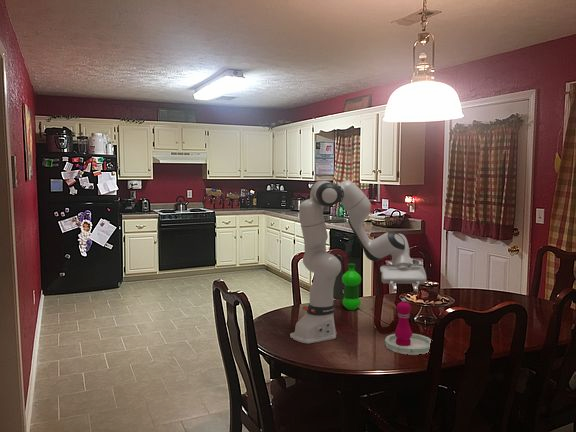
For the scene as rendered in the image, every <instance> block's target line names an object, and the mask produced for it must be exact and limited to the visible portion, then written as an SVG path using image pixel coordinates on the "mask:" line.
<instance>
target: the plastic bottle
mask: <svg viewBox="0 0 576 432" xmlns="http://www.w3.org/2000/svg"><path fill="white" fill-rule="evenodd" d="M347 268H348V270H347V271H346V272H344V273H343V274H342V276H341V283H342V284H344V285H343V286H344V287H343V288H344V289H343V298H342V305H343V307H345V309H347V310H348V311H349V310H350V311H355V310H356V309H357V308H359V307H360V305H361V299H360V297H359V296H360V295H359V294H360V293H359V292H360V291H359V290H360V288H359V287H360V284H361V283H362V277H361V275H360V274H359V272H357V271H356V270H355V269H356V264H355V263H348V264H347Z"/></svg>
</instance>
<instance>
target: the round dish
mask: <svg viewBox="0 0 576 432" xmlns="http://www.w3.org/2000/svg"><path fill="white" fill-rule="evenodd" d="M396 339H397V337H396V336H395V333H391V334H389V335H387V336H386V337H385V339H384V345H385V348H387V349H388V350H389V351H391V352H394V353H397V354H401V355H406V356H407V354H408V356H418V355H419V354H422V355H427V354H429V353H430V352H429V349H430V343H431V340H432V339H431V338H430V337H429V336H426V335H422V334H418V333H412V337H411V338H410V340H411V344H410V345H409V346H400V345H398V344H396ZM428 352H429V353H428ZM426 353H427V354H426ZM419 356H420V355H419Z"/></svg>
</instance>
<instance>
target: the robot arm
mask: <svg viewBox="0 0 576 432" xmlns="http://www.w3.org/2000/svg"><path fill="white" fill-rule="evenodd" d="M337 204H340V205H342V207H343V208H344V209H345V210H346V212H347V214H348V220H347V221H348V225H349V228H350V229H351V231H352V232H353V234H354V235H355V238H356V239H357V241H358V242H359V245H360V246H361V248H362V250H363V253H364V255H365V257H366V258H367V259H368V260H369V261H372V262H379V261H380V260H382V259H383V258H385V257H387V256H389V255H391V263H392V264H383V265H380V268H379V271H380V273H381V278H380V279H381V283H383V284H389V286H390V287H391V288H392V291H393V292H397V286H396V285H395V284H404V285H405V284H406V285H407V284H410V285H412V284H415V285H414V287H413V292H418V290H419V285H420V284H421V285H424V284H426V282H427V280H428V278H427V273H426V270H425V268H424V266H422V265H423V263H422V261H421V260H418V259H414V258H411V255H410V253H411V252H410V245H409V243H408V239H407V237H406V236H405V235H404V234H402V233H397V232H395V231H393V230H391V231H387V232H385V233H383V234H382V235H380V236H378V237H376V238H374V239H371V238H369V236H368V233H367V232H366V231H365V229H364V227H363V223H364V222H365V220H366V219H367V218H368V216H369V214H370V213H371V210H372V204H371V201H370V200H369V198H368V197H367V195H366V194H365V193H364V191H362V190H361V189H360V187H359V186H358V185H356V184H355V183H354V182H353V181H351V180H348V179H345V180H342V181H341V182H340V183H338V184H335V183H333V182H331V181H328V180H324V179H320V180H316V181H314V182H313V183H312V185H311V186H310V189H309V193H308V196H307V199H305V200H303V201H301V203H300V204H299V206H298V214H299V223H300V227H301V233H302V237H303V243H304V244H303V245H304V254H303V256H302V263H303V265H304V267H305V268H306V269H307V270H308V271H309V272H311V273H313V280H312V283H311V285H310V286H309V303H308V305H307V306H306V305H303V306H302V310H303V311H306V313H305V314H304V315H303V316H301V318H299V320H298V321H297V322H296V323H295V326H294V327H295V329H294V332H290V333H289V337H290V338H291V339H292V338H293V339H292V340H294V341H297V342H299V343H303V344H309V345H310V344H312V343H313V344H314V343H319V342H326V341H330V340H335V339H336V338H337V334H338V333H337V330H336V324H335V318H334V317H335V316H334V315H335V314H334V312H335V304H334V288H335V287H334V286H335V283H336V280H337V276H339V274H340V272H341V271H342V263H341V260H339V258H338V257H336V256H335V255H334V254H333V253H328V252H327V241H328V230H327V227H326V226H327V225H326V222H325V221H326V220H325V217H324V208H325V207H326V208H327V207H332V206H334V205H335V206H336V205H337Z"/></svg>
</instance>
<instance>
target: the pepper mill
mask: <svg viewBox="0 0 576 432" xmlns="http://www.w3.org/2000/svg"><path fill="white" fill-rule="evenodd" d="M396 310H397V317H398V322H397V323H398V324H396V328H395V331H394V334H395V336H396V337H397V339H396V344H398V345H400V346H409V345H410V344H411V340H410V338H411V337H412V334H413V332H412V329H411V326H410V323H409V318H410V314H411V313H410V312H411V310H412V306H411V304H410V303H409V302H407V299H406V298H402V299H401V301H400V302H398V303H397V304H396Z"/></svg>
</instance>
